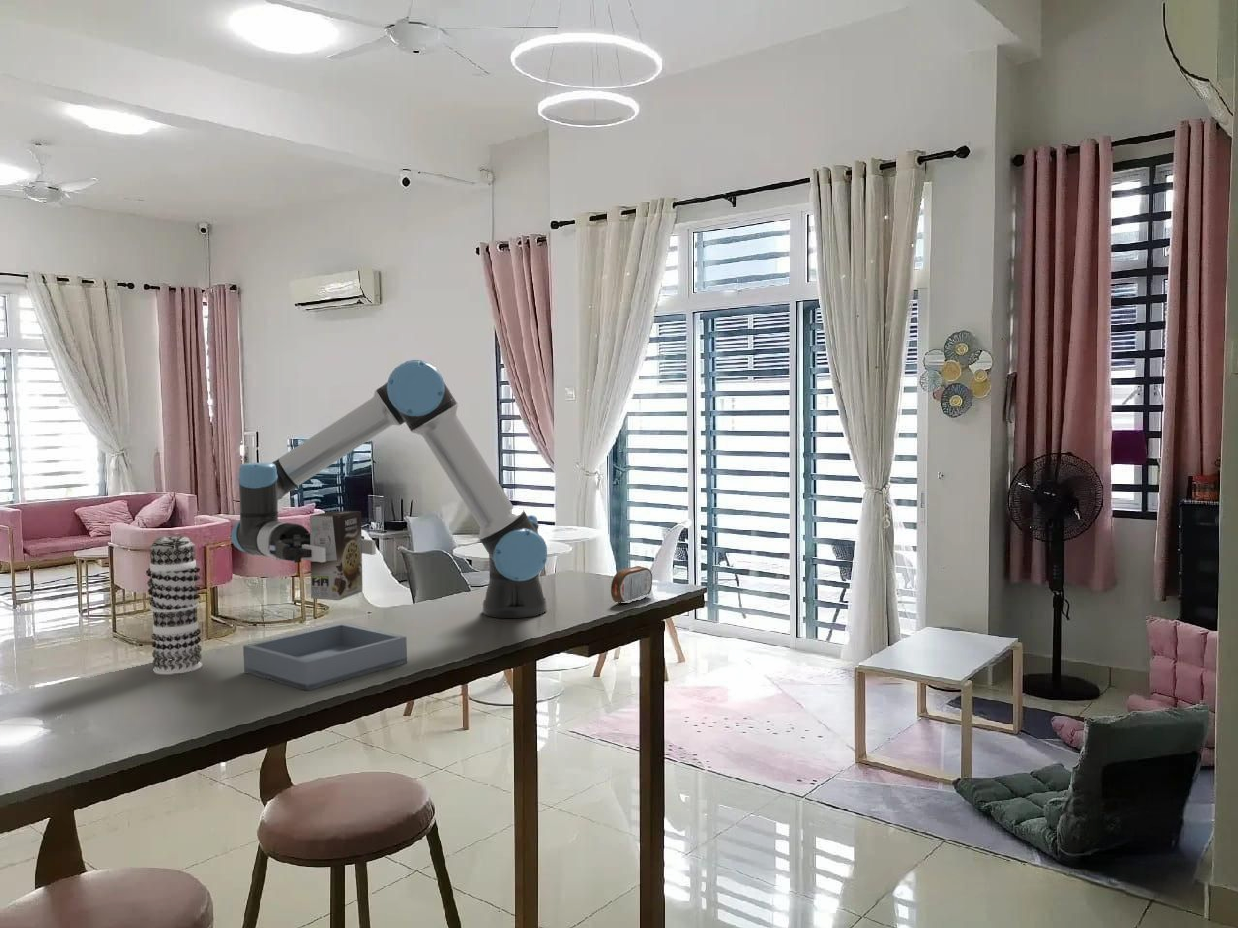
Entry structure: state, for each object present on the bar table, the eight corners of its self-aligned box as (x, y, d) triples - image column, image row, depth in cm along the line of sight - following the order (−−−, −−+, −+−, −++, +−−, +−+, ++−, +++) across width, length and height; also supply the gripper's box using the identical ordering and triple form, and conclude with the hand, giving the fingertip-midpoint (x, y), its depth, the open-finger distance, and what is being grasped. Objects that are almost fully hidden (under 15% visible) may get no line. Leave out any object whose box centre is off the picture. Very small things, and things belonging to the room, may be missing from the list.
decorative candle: (179, 676, 173) (174, 542, 171) (139, 673, 175) (133, 540, 174) (214, 663, 181) (209, 535, 180) (175, 660, 184) (170, 533, 182)
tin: (644, 595, 241) (644, 563, 240) (654, 596, 239) (654, 564, 238) (609, 606, 229) (609, 571, 228) (620, 607, 227) (619, 573, 226)
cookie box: (340, 600, 176) (339, 515, 175) (309, 599, 178) (307, 514, 177) (364, 591, 185) (362, 510, 184) (334, 590, 187) (332, 509, 186)
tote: (343, 646, 192) (342, 622, 192) (407, 662, 180) (406, 636, 180) (244, 671, 175) (243, 645, 175) (306, 690, 163) (305, 662, 163)
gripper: (333, 552, 201) (398, 562, 187) (232, 566, 183) (295, 579, 170) (333, 517, 201) (398, 525, 187) (231, 528, 183) (294, 538, 169)
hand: (349, 551), depth 178 cm, fingers closed on cookie box, 10 cm apart
